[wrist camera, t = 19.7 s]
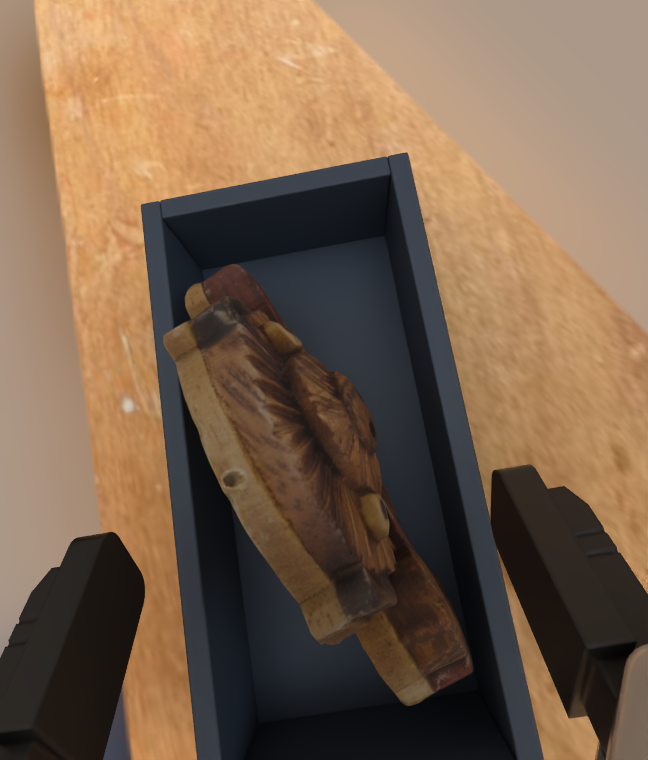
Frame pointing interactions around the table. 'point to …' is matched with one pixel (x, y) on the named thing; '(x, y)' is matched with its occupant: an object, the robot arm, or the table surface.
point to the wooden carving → (311, 485)
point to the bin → (397, 466)
